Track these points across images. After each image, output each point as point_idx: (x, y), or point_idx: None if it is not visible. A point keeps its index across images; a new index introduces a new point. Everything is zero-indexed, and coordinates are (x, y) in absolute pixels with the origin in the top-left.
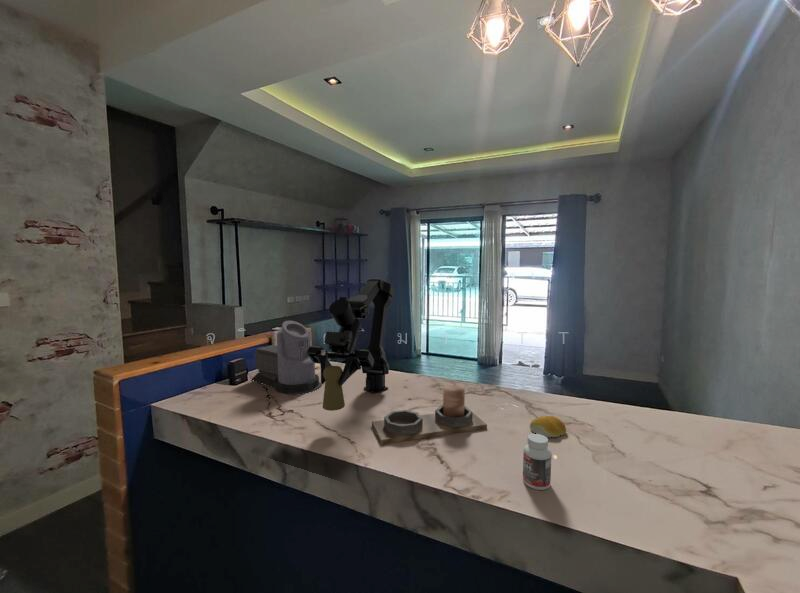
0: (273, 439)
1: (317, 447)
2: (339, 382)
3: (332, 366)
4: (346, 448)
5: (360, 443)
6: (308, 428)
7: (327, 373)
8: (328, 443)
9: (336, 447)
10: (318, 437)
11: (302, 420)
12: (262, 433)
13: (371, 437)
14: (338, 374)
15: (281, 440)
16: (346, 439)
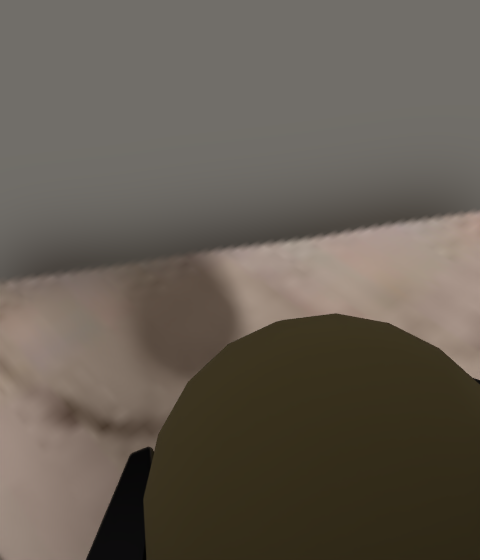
0: (382, 226)
1: (179, 284)
2: (145, 460)
3: (414, 541)
4: (58, 352)
5: (24, 430)
6: None
7: (293, 319)
8: (163, 335)
9: (106, 331)
10: None
11: None
12: (465, 231)
13: (4, 523)
14: (151, 472)
15: (350, 238)
16: (115, 416)
